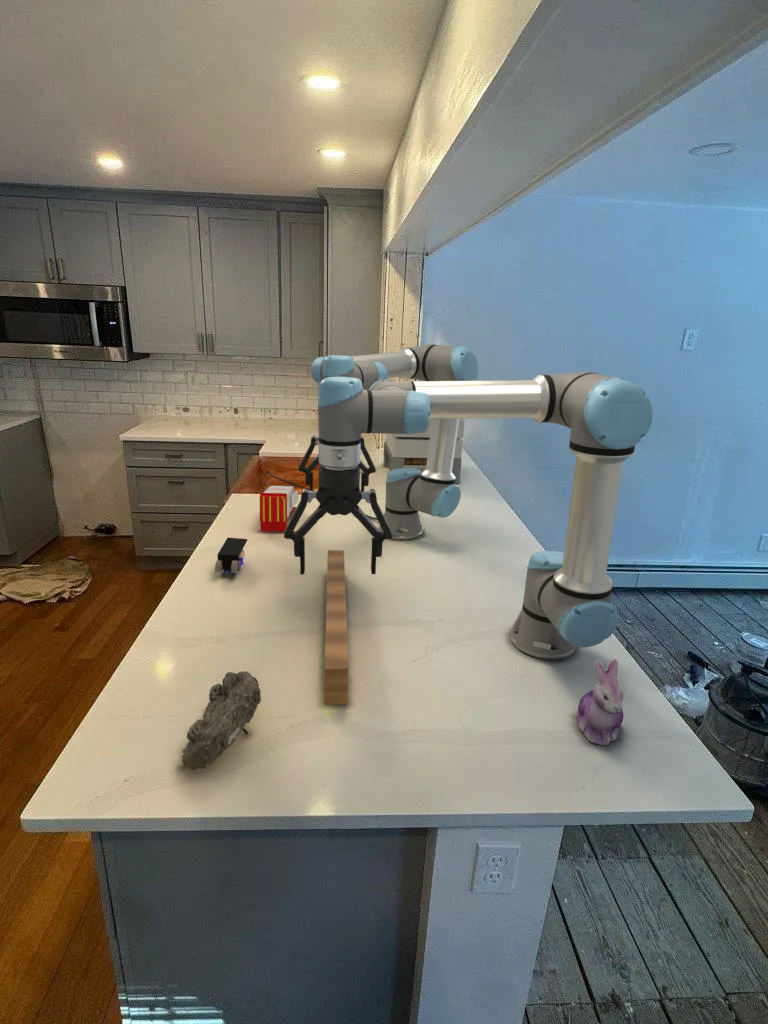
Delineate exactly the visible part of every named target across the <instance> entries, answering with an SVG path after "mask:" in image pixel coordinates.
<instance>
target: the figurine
mask: <svg viewBox="0 0 768 1024" xmlns="http://www.w3.org/2000/svg"><path fill="white" fill-rule="evenodd" d="M618 663H619V662H618V660H617V659H615V658H614V659H613V658H612V660H610V662H609V664H608V667H607V669H606V670H605V668H604V666H603V665H602V664H601V662H600V661H598V660H594V661H593V664H594V681H595V684H594V686H593V688H592V689H590V690H589V691H588V692H586V693H585V694H583V695H582V696H581V698H580V699H579V702H578V708H577V713H576V721H577V726H578V729H579V730H580V731H581V732H582V733H583V734H584V736H585V738H586V739H587V740H588V742H590V743H592V744H597V745H601V746H605V745H606V746H607V745H609V743H610V742H614V741H616V740H617V739H618V736H619V733H620V728H621V726H622V724H623V722H624V719H625V718H624V711H623V708H622V707H623V703H624V692H623V689H622V687H621V684H620V683H619V679H618V673H619V665H618Z"/></svg>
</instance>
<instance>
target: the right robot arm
mask: <svg viewBox="0 0 768 1024" xmlns="http://www.w3.org/2000/svg"><path fill="white" fill-rule="evenodd" d="M318 384H319V383H318ZM317 400H318V401H317V402H318V403H317V406H318V407H317V412H318V413H317V415H318V417H317V419H318V420H317V421H318V424H317V425H318V437H319V441H318V445H317V446H318V447H317V448H318V454H319V463H318V464H319V466H318V486H317V487H318V488H317V490H315V491H310V490H308V489H307V488H308V487H306V488H302V490H301V493H300V494H301V495H300V501H298V503H297V504H298V505H297V506H296V509H295V510H294V512H293V513H292V516H291V518H290V520H289V522H288V523H287V527H286V529H285V532H283V538H284V539H285V540H291V541H292V542H293V555H294V557H295V558H299V572H300V573H299V574H300V575H305V573H306V539H305V538H306V537H305V536H306V535H307V534H308V533H309V531H310V530H311V529H312V528H313V527H314V526H315V525H316V524H317V523H318V522H319V520H320V519H321V518H323V517H324V516H325V515H326V514H329V515H330V516H337V515H341V516H348V515H349V514H352V516H353V517H354V518H355V519H357V520H358V521H359V522H360V524H361V525H362V526H363V527H364V528H365V530H366V531H368V533H369V534H370V535H371V536H372V537H371V550H370V551H371V553H370V571H371V572H370V573H371V575H376V574H377V573H376V572H377V558H381V557H382V555H383V544H384V541H386V540H392V539H391V538H392V532H391V529H390V527H389V525H388V523H387V521H386V519H385V517H384V512H383V511H382V509H381V507H380V505H379V503H378V498H377V492H376V490H375V488H370V489H369V490H368V491H367V490H366V491H364V492H361V469H360V468H359V466H358V464H360V460H361V436H362V434H383V435H386V434H407V435H410V434H419V433H424V432H425V431H426V430H427V428H428V426H429V421H430V419H464V420H466V419H467V420H468V419H469V420H470V419H471V420H474V419H532V420H533V421H534V422H535V423H538V424H539V423H540V424H541V423H548V424H557V425H560V426H563V427H567V428H569V429H570V437H569V445H568V449H569V451H571V452H572V454H573V455H574V456H575V462H574V463H575V464H574V470H573V478H572V479H573V480H572V485H571V494H570V502H569V510H568V511H569V512H568V519H567V527H566V535H565V542H564V543H565V544H564V551H555V550H544V551H543V550H542V551H538V552H535V553H533V554H531V555H530V557H529V560H528V564H527V566H526V569H527V570H526V577H525V585H524V592H523V600H522V607H521V609H520V612H519V614H518V616H517V618H516V619H515V622H514V623H513V625H512V627H511V629H510V630H511V631H510V641H511V643H512V644H513V646H514V647H515V648H517V650H519V651H521V652H522V653H524V654H526V655H528V656H530V657H533V658H536V659H540V660H541V659H542V660H548V661H556V660H557V661H558V660H565V659H567V658H570V657H571V656H572V655H573V654H574V653H575V651H576V647H578V648H589V647H594V646H597V645H599V644H601V643H603V642H604V641H605V640H607V639H609V638H610V637H611V636H612V635H613V633H614V632H615V631H616V629H617V628H618V623H619V614H618V612H617V610H616V607H615V606H614V605H613V604H612V603H611V599H612V592H613V585H614V584H613V580H612V579H611V578H610V576H608V575H607V571H608V566H609V558H610V553H611V546H612V540H613V533H614V527H615V520H616V514H617V508H618V501H619V495H620V487H621V483H622V482H621V481H622V475H623V469H624V463H625V461H627V460H628V459H630V458H631V457H632V456H633V455H634V454H635V448H636V445H637V444H639V443H640V442H641V441H642V438H643V437H646V436H647V434H648V432H649V431H650V428H651V426H652V422H653V416H654V409H653V403H652V401H651V399H650V396H649V395H648V394H647V393H646V391H645V390H644V389H643V388H642V387H641V386H639V385H638V384H636V383H634V382H631V381H630V380H628V379H626V378H622V377H616V376H612V375H606V374H601V373H597V372H594V371H593V372H592V371H579V372H569V373H556V374H538V375H536V376H535V378H533V379H519V380H518V379H517V380H514V379H512V380H511V379H510V380H508V379H507V380H477V381H422V380H414V381H409V380H407V381H395V380H392V379H390V378H387V379H383V380H379V381H377V382H375V383H374V384H373V385H372V386H371V387H370V389H369V390H363V387H362V382H361V380H360V379H357V378H352V377H327V378H324V379H323V380H322V381H321V382H320V384H319V385H318V399H317ZM316 491H317V492H316ZM362 498H363V499H362ZM314 499H316V501H317V502H318V503H319V505H318V506H317V507H316V509H315V510H314V511H313V512H312V513H311V514H310V515H309V517H308V518H307V519H306V520H305V521H304V522H303V523H302V524H301V526H299V528H298V529H297V530H295V529H296V527H297V525H298V523H299V521H300V520H301V517H302V515H304V514H303V513H304V512H305V510H306V508H307V505H308V504H310V503H312V501H313V500H314ZM362 500H365V502H366V504H370V506H371V510H372V512H373V513H374V516H375V518H377V520H376V521H377V522H378V523H379V527H380V526H381V528H382V530H383V532H380V531H379V528H378V527H377V526H376V525H375V524H374V523H373V521H372V520H371V519H370V518H368V517H367V516H366V515H367V514H366V513H365V512H364V511H363V510H362V509H361V507H360V506H359V503H360V502H361V501H362ZM365 514H366V515H365Z"/></svg>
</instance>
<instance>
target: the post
mask: <svg viewBox="0 0 768 1024" xmlns="http://www.w3.org/2000/svg"><path fill="white" fill-rule="evenodd" d="M326 561H327V564H326V565H327V566H326V599H325V600H326V601H325V638H324V676H323V677H324V680H323V682H324V684H323V685H324V686H323V687H324V688H323V695H324V696H323V700H324V701H323V702H324V703H323V704H324V705H348V703H349V702H348V701H349V671H350V670H349V669H350V668H349V650H348V649H349V644H348V643H349V642H348V619H347V618H348V617H347V593H346V572H345V571H346V568H345V567H346V566H345V550H344V549H342V550H341V549H328V550H327V560H326Z"/></svg>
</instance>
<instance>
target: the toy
mask: <svg viewBox="0 0 768 1024" xmlns="http://www.w3.org/2000/svg"><path fill="white" fill-rule="evenodd" d="M294 486H295V485H270V486H268V488H267V489H265V490H264V492H259V526H260V528H259V529H260V531H259V532H279V533H281V532H283V533H284V532H285V529H286V527H287V525H288V518H289V517H290V516H291V515H292V516H293V514H294V512H295V510H296V508H297V506H295V505H296V504H298V503H299V490H298V489H297V490H295V491H294Z"/></svg>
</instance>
